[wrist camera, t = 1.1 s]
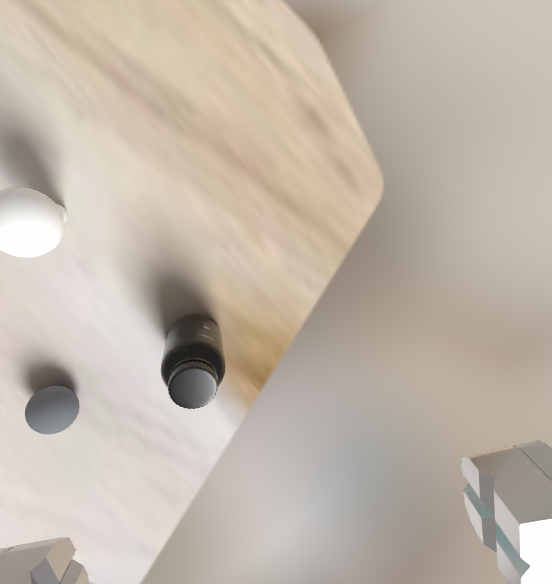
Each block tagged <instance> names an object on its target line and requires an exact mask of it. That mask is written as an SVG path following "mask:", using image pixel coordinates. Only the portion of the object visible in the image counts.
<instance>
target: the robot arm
mask: <svg viewBox="0 0 552 584" xmlns="http://www.w3.org/2000/svg"><path fill="white" fill-rule="evenodd" d="M461 466H462V473H463V475H464V476H465V478H466V479H467V481H468V482H469V483H468V484H467V486H466V487H465V489H464V500H465V505H466V508H467V511H468V515H469V518H470V521H471V522H472V524H473V527H474V529H475V531H476V533H477V534H478V536H479V537H480V539H481V541H482V543H483V544H484V545H486V546H487V547H489V548H491V549H492V550H494V551H495V552H497V559H498V560H497V561H498V568H499V570H500V572H501V573H502V574H503V576H504V578H505V579H506V581H507V583H508V584H552V448H551V447H549V446H548V445H547V444H546V443H544V442H542V441H539V440H537V441H533V442H528V443H523V444H519V445H514V446H512V447H505V448H500V449H496V450H491V451H486V452H481V453H477V454H472V455H467V456H463V458H462V461H461ZM75 551H76V549H75V548H74V546H73V544H72V542H71V540H70V539H69V538H57V539H51V540H45V541H39V542H33V543H28V544H22V545H16V546H14V547H8V548H2V549H0V584H89V581H88V575H87V573H86V570H85V568H84V566H83V565H81V564H79V563H78V562H76V561H74V560H73V556H74V554H75Z"/></svg>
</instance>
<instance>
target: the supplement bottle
mask: <svg viewBox="0 0 552 584" xmlns="http://www.w3.org/2000/svg"><path fill="white" fill-rule="evenodd" d="M224 374H225V358H224V351H223V344H222V337H221V333H220V330H219V328H218V326H217V325H216V324H215V323H214V322H213V321H212V320H210V319H209V318H207V317H204V316H201V315H189V316H185V317H183V318H181V319H179V320H178V321H176V322H175V323H174V324H173V325H172V327H171V328H170V330H169V332H168V335H167V339H166V344H165V349H164V354H163V359H162V364H161V376H162V379H163V381H164V383H165V385H166V386H167V388H168V391H169V395H170V398H171V399H172V400H173V402H175V403H176V404H177V405H179V406H180V407H184V408H188V409H191V408H192V409H195V408H200V407H203V406H204V405H206V404H208V403H209V402H211V400H212V399H213V398H214V396H215V395H216V391H217V387H218V386H219V385H220V383H221V382H222V380H223V377H224Z"/></svg>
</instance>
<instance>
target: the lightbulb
mask: <svg viewBox="0 0 552 584" xmlns="http://www.w3.org/2000/svg"><path fill="white" fill-rule="evenodd" d="M66 220H67V213H66V210H65V209H64V208H63V207H62V206H61V205H59V204H56V203H54V201H53V200H52V199H50V198H49V197H48V196H46V195H44V194H42V193H40V192H38V191H36V190H33V189H30V188H24V187H14V188H7V189H3V190H1V191H0V250H1V251H3V252H6V253H8V254H10V255H14V256H18V257H36V256H40V255H43V254H45V253H47V252H49V251H51V250H52V249H54V248H55V247H56V246H57V245H58V243H59V242H60V240H61V238H62V236H63V233H64V223H65V222H66Z"/></svg>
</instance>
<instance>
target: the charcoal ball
mask: <svg viewBox="0 0 552 584" xmlns="http://www.w3.org/2000/svg"><path fill="white" fill-rule="evenodd" d="M78 412H79V400H78V398H77V396H76V394H75V393H74V392H73V391H72V390H70V389H69V388H67V387H64V386H49V387H45V388H43V389H41V390H39V391H38V392H37V393H35V394H34V395H33V396H32V397H31V399H30V400H29V402H28V404H27V406H26V410H25V417H26V421H27V423H28V425H29V426H30V427H31V428H32V429H33V430H34V431H36V432H39V433H42V434H54V433H58V432H61V431H63V430H65V429H66V428H68V427H69V426H70V425H71V424H72V423H73V422H74V420H75V419H76V417H77V415H78Z"/></svg>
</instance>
